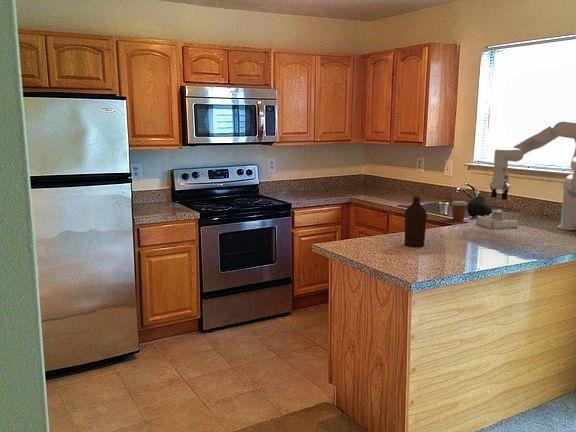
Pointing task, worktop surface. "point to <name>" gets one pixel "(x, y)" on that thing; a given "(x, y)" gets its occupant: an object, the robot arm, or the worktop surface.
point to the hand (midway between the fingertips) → (498, 198)
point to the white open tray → (495, 223)
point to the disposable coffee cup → (458, 210)
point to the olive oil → (415, 223)
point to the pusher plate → (492, 218)
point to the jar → (497, 214)
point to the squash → (479, 207)
